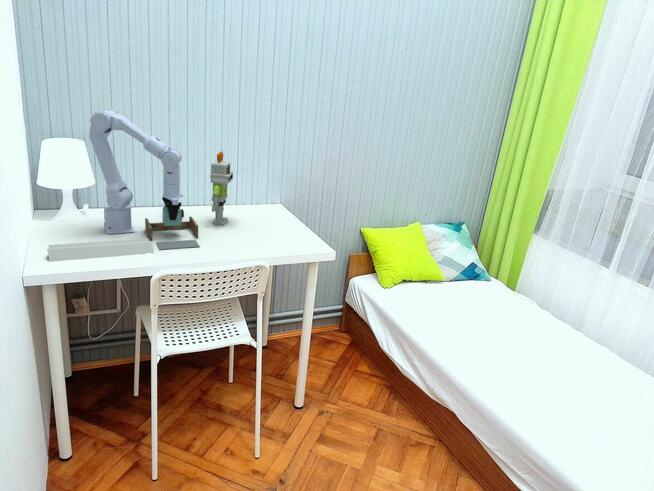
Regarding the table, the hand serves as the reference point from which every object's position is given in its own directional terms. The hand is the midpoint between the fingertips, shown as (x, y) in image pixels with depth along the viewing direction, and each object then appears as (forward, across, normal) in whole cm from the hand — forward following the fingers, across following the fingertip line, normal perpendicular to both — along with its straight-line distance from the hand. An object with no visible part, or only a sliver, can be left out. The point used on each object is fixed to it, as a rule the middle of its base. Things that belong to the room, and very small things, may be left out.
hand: (171, 218), depth 179 cm
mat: (+7, -12, 0) cm, 13 cm away
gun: (+7, +18, -4) cm, 19 cm away
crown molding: (+8, -12, +25) cm, 29 cm away
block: (+2, 0, 0) cm, 2 cm away
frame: (+7, 0, 0) cm, 7 cm away
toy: (+7, +11, -22) cm, 26 cm away
